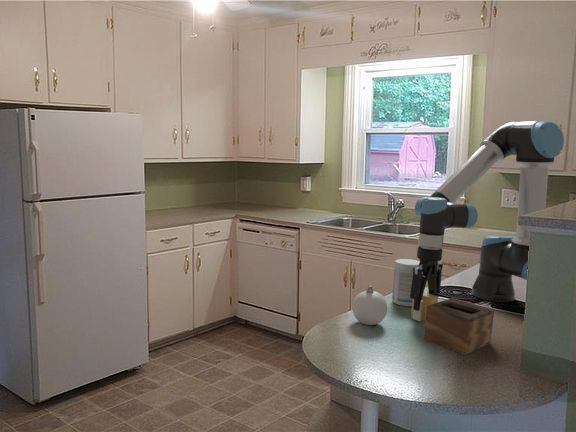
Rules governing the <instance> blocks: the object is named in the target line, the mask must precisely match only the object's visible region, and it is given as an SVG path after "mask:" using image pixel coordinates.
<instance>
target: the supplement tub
mask: <svg viewBox="0 0 576 432" xmlns="http://www.w3.org/2000/svg"><path fill="white" fill-rule="evenodd" d="M419 263H420V260H416V259H410V258H409V259H408V258H400V259H396V260H394V268H393V281H392V282H393V283H392V296H391V300H392V302H393V304H394V305H395V304H396V305H397V306H402V307H411V308H412V299H411V298H410V293H411V286H412V279H413V268H414V267H415V268H417V267H419Z"/></svg>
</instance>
